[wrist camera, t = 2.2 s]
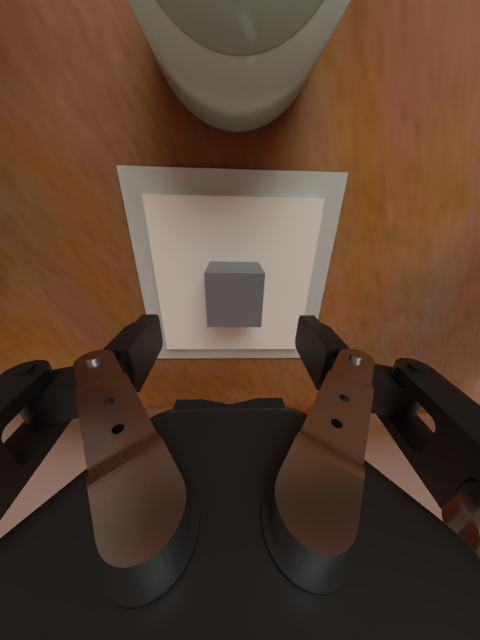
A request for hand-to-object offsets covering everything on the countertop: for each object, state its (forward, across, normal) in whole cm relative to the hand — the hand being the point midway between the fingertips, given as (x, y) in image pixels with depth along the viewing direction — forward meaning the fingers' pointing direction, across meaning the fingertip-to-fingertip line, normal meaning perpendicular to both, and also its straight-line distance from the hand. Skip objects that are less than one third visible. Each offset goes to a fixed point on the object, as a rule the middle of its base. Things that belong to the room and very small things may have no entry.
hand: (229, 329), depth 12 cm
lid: (+10, 0, 0) cm, 10 cm away
